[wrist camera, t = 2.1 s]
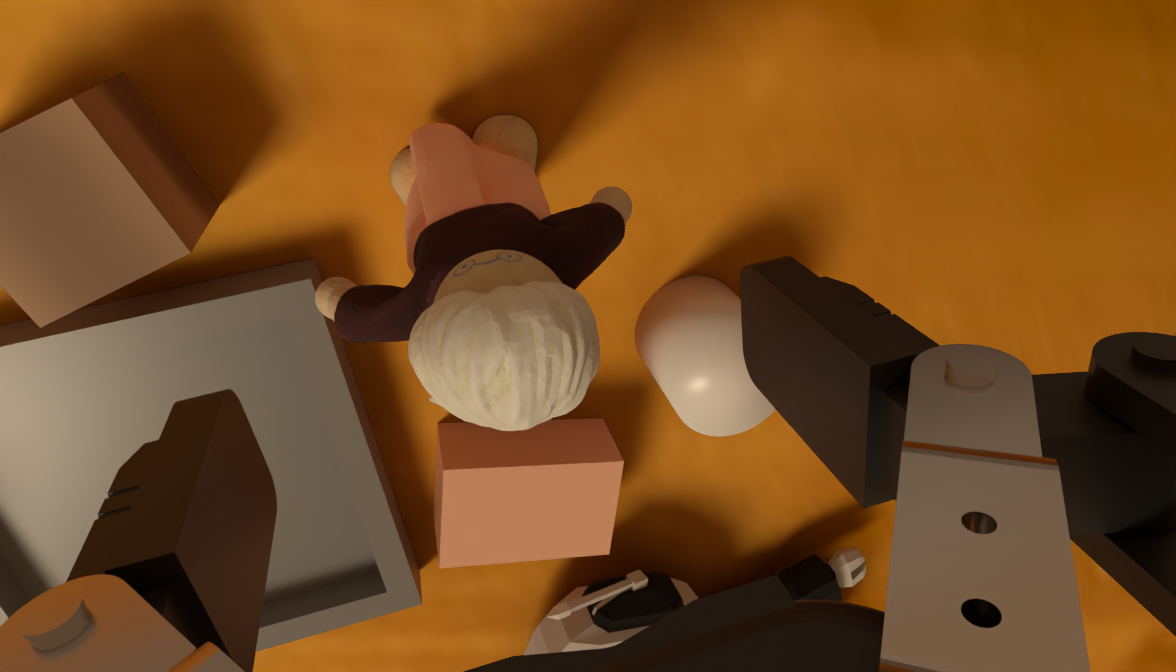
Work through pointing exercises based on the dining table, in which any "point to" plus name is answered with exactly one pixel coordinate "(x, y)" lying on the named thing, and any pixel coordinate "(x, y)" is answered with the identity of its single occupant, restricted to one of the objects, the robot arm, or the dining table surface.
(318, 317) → the tray
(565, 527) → the terracotta block
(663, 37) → the dining table surface
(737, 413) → the white rounded cylinder block
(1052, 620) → the robot arm
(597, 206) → the grandmother figurine
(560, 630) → the robot toy
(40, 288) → the walnut cube
